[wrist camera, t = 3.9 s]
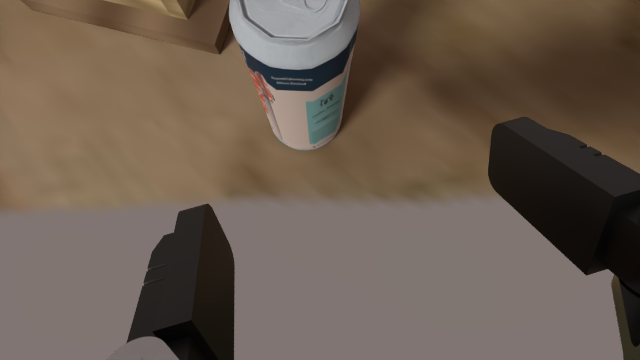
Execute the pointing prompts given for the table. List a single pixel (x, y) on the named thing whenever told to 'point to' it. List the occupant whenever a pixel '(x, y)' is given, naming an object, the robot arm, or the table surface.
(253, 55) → the beer can
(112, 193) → the table surface
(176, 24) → the caddy
